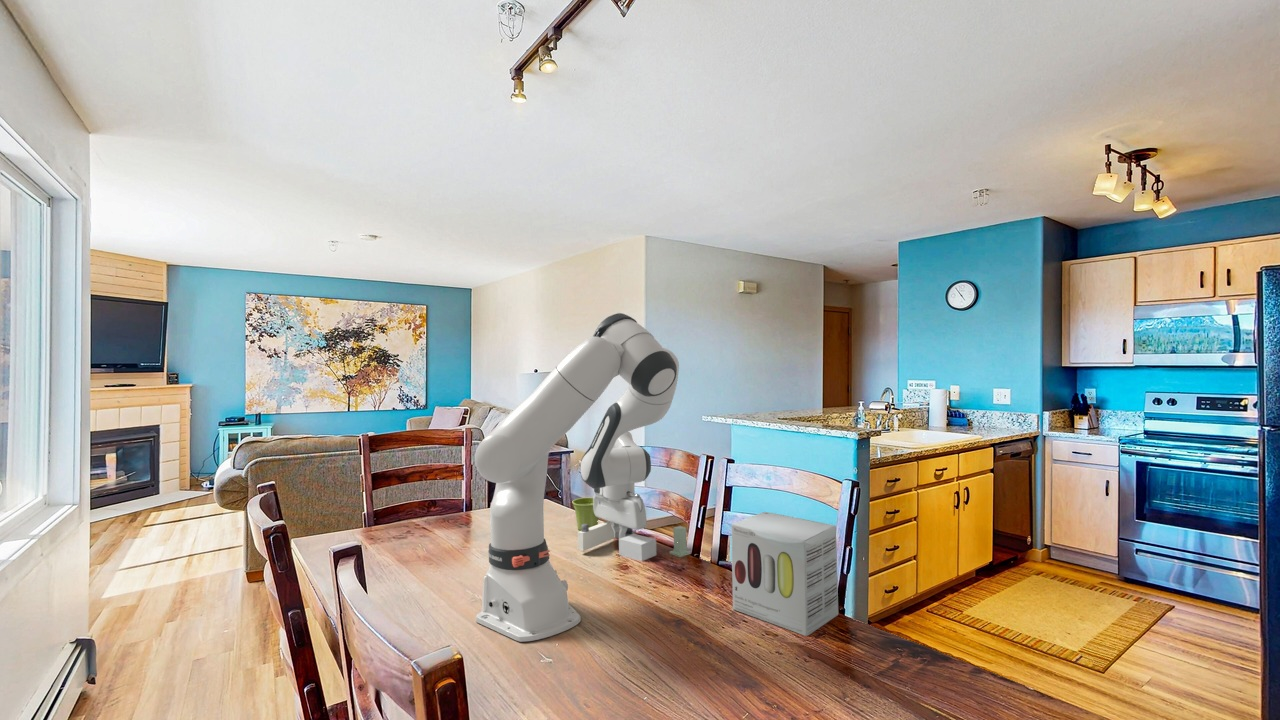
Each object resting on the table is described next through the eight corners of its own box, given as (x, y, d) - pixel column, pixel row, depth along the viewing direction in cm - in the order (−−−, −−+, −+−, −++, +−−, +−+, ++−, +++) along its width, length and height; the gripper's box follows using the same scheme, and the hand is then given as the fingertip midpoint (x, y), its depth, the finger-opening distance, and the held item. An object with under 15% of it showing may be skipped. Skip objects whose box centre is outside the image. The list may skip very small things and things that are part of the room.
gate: (618, 533, 172) (618, 511, 172) (624, 534, 171) (623, 512, 171) (577, 549, 158) (577, 526, 158) (583, 551, 156) (582, 527, 156)
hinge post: (638, 535, 174) (637, 511, 174) (626, 538, 171) (626, 514, 171) (629, 532, 177) (628, 509, 177) (617, 535, 174) (617, 511, 174)
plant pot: (605, 524, 186) (604, 497, 186) (600, 533, 177) (599, 504, 177) (576, 524, 187) (575, 497, 187) (569, 533, 178) (569, 504, 178)
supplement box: (730, 611, 120) (728, 523, 120) (766, 592, 129) (764, 510, 129) (807, 638, 108) (804, 540, 108) (840, 614, 117) (838, 524, 117)
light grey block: (656, 555, 155) (656, 539, 156) (641, 562, 151) (641, 544, 151) (634, 550, 161) (633, 533, 161) (619, 555, 156) (618, 539, 156)
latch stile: (692, 553, 156) (691, 527, 156) (679, 557, 153) (679, 530, 153) (678, 548, 160) (677, 523, 160) (666, 552, 158) (665, 526, 158)
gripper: (651, 493, 156) (652, 545, 156) (606, 482, 172) (607, 529, 172) (632, 497, 152) (634, 550, 152) (588, 485, 168) (590, 533, 168)
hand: (619, 539), depth 162 cm, fingers closed
